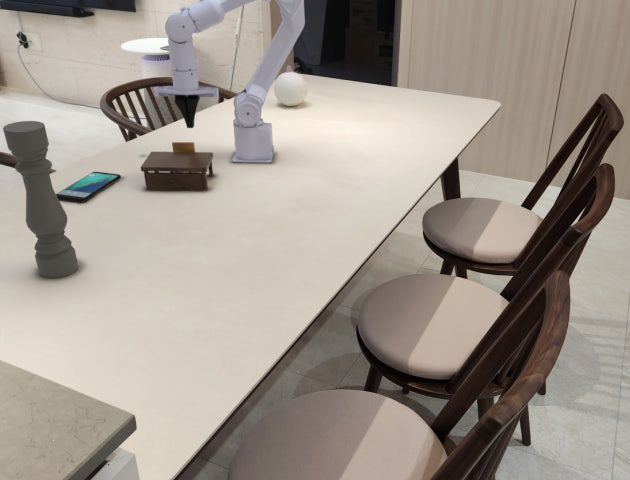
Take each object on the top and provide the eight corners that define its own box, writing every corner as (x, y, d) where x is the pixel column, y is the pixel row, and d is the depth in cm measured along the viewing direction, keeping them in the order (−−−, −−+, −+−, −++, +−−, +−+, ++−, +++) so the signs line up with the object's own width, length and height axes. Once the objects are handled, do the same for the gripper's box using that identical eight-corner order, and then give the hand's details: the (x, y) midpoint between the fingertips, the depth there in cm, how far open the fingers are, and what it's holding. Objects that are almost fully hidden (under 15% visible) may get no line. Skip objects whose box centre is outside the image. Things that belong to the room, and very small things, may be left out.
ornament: (279, 99, 207) (278, 61, 201) (310, 102, 206) (309, 64, 200) (271, 108, 199) (269, 68, 192) (303, 110, 198) (302, 71, 191)
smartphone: (52, 195, 133) (94, 170, 146) (53, 199, 134) (94, 174, 146) (82, 199, 132) (122, 174, 145) (83, 203, 132) (122, 177, 145)
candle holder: (46, 260, 111) (10, 120, 99) (83, 260, 112) (52, 120, 99) (33, 278, 106) (-7, 132, 93) (72, 278, 107) (37, 132, 94)
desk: (215, 174, 149) (213, 152, 146) (208, 191, 141) (206, 167, 138) (154, 174, 148) (151, 151, 145) (144, 190, 140) (140, 167, 137)
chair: (197, 170, 151) (194, 142, 147) (193, 180, 145) (189, 150, 142) (176, 170, 150) (172, 141, 147) (170, 179, 145) (166, 150, 142)
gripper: (218, 65, 150) (223, 122, 157) (155, 64, 149) (163, 121, 156) (214, 72, 144) (219, 130, 151) (148, 71, 143) (157, 130, 150)
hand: (190, 126), depth 153 cm, fingers closed
